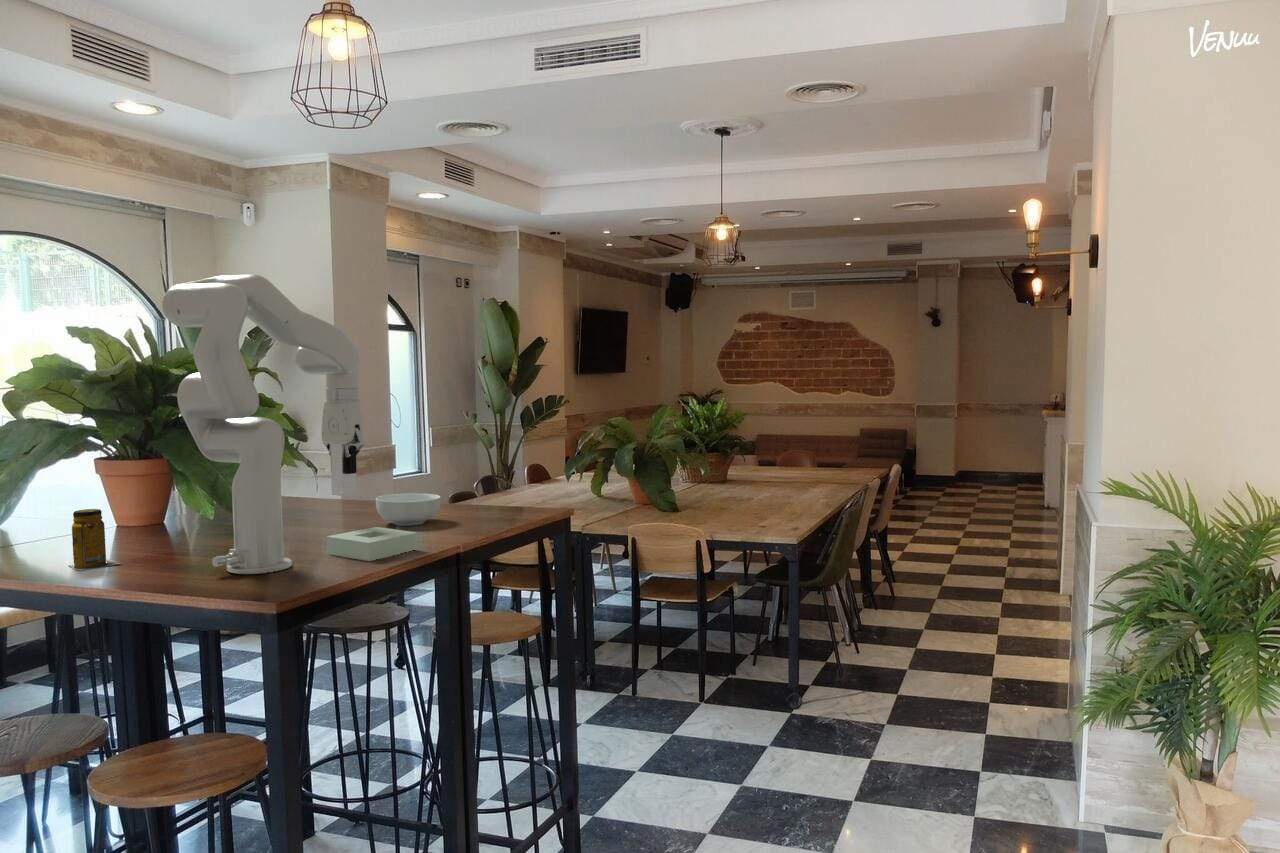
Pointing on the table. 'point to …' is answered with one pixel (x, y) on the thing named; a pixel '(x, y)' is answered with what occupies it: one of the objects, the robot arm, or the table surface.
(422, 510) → the cereal bowl
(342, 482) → the white rectangular block
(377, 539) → the green square socket block
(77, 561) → the condiment
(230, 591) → the table surface
